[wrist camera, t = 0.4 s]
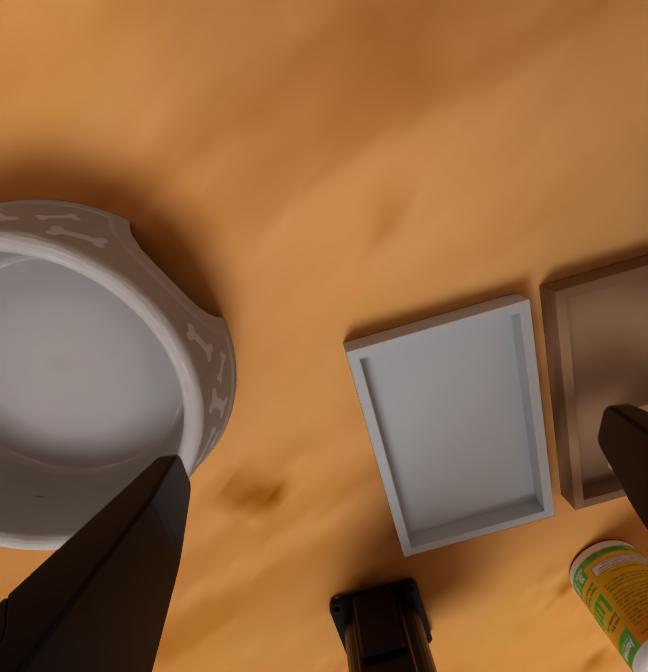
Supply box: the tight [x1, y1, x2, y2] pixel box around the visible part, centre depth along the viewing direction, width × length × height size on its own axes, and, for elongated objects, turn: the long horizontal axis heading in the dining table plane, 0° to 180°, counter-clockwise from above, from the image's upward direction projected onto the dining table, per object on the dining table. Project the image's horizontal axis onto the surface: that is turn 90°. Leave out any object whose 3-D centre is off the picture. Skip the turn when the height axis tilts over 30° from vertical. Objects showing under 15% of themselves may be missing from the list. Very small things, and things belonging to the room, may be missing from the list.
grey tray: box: [343, 293, 554, 557], centre depth 26 cm, size 15×10×2 cm
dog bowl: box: [0, 199, 236, 550], centre depth 21 cm, size 17×18×5 cm
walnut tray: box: [539, 255, 648, 510], centre depth 26 cm, size 15×10×2 cm
